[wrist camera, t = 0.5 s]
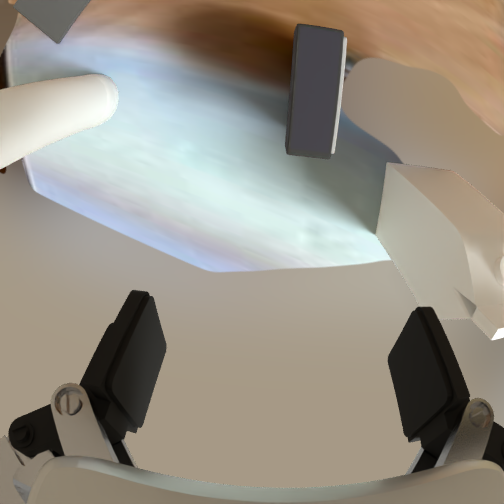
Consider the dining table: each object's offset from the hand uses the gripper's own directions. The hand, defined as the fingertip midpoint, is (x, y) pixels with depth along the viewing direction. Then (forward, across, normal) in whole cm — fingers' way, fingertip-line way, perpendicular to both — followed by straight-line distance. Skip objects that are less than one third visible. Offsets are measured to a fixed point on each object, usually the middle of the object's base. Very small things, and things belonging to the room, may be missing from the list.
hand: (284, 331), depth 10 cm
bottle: (+31, +26, -7) cm, 41 cm away
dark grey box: (+31, -3, -7) cm, 32 cm away
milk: (+31, -21, +6) cm, 38 cm away
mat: (+31, +35, -29) cm, 55 cm away
